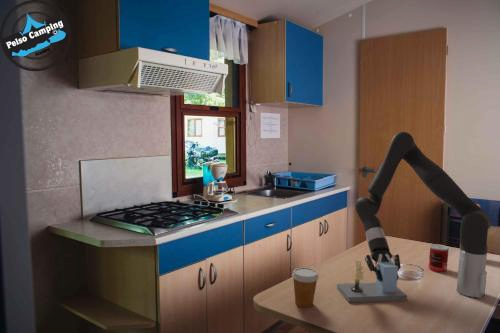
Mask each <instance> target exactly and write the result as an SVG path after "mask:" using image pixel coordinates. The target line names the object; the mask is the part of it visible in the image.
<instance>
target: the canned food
mask: <svg viewBox="0 0 500 333" xmlns="http://www.w3.org/2000/svg"><path fill="white" fill-rule="evenodd" d="M428 256H429V258H428V269H429V270H430V271H431V272H435V273H439V272H444V273H447V269H448V261H449V247H448V246H446V245H444V244H438V243H433V244H430V246H429V255H428Z"/></svg>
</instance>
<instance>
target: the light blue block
mask: <svg viewBox="0 0 500 333" xmlns="http://www.w3.org/2000/svg"><path fill="white" fill-rule="evenodd" d="M393 263H394V262H393ZM393 263H390V262H381V263H379V267H380V271H381V275H382V278H383V280H382V281H381V282H379V280H378V279H377V276H376V278H375V283H376V287H377V288H378V289H379V290H380V291H381V292H396V287H398V286H397V284H398V280H397V274H398V275H399V273H398V271H399V270H398V266H396V265H395V264H393Z"/></svg>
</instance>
